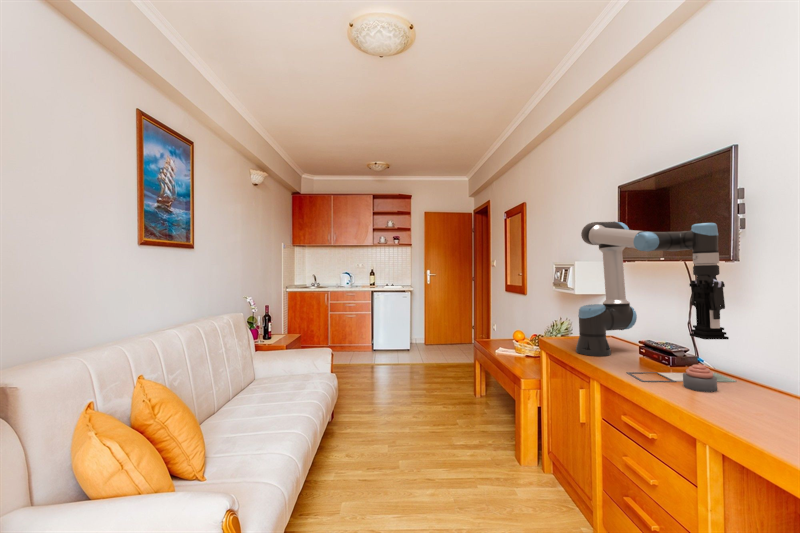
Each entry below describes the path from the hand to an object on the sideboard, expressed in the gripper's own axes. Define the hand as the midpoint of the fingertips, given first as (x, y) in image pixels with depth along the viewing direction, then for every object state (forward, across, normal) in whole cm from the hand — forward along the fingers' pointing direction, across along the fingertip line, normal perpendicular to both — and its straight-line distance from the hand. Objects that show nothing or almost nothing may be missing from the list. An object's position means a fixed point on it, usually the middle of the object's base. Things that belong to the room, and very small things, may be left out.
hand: (708, 326), depth 136 cm
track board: (+19, 0, -10) cm, 22 cm away
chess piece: (+4, 0, 0) cm, 4 cm away
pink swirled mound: (+15, +12, -11) cm, 22 cm away
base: (+19, +12, -11) cm, 25 cm away
